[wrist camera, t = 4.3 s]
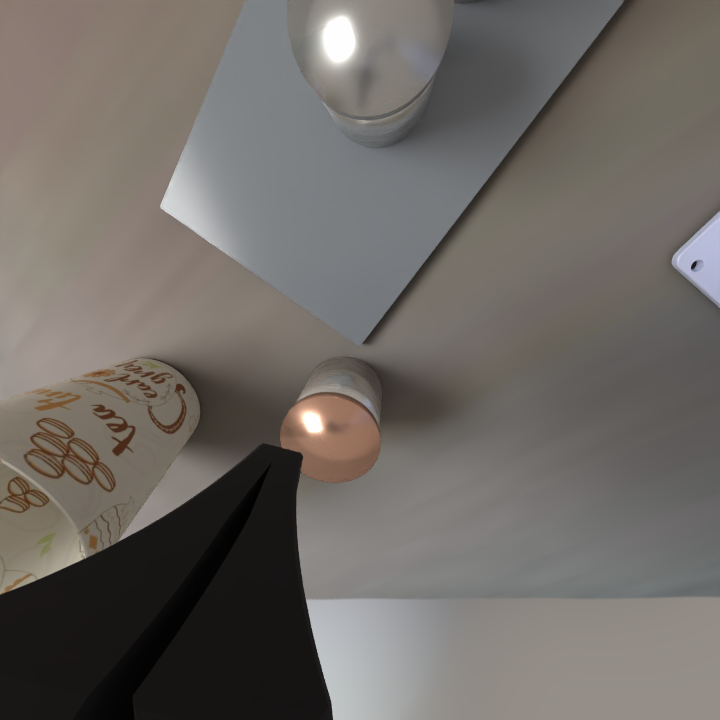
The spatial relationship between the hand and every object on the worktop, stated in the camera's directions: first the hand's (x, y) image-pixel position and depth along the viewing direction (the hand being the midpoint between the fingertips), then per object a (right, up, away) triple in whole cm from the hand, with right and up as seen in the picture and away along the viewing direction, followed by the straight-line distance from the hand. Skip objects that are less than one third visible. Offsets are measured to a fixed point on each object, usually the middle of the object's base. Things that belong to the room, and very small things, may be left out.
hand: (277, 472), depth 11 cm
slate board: (+3, +15, +4) cm, 15 cm away
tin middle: (+3, +15, +3) cm, 16 cm away
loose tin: (+2, +2, +9) cm, 10 cm away
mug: (-12, 0, +12) cm, 17 cm away
